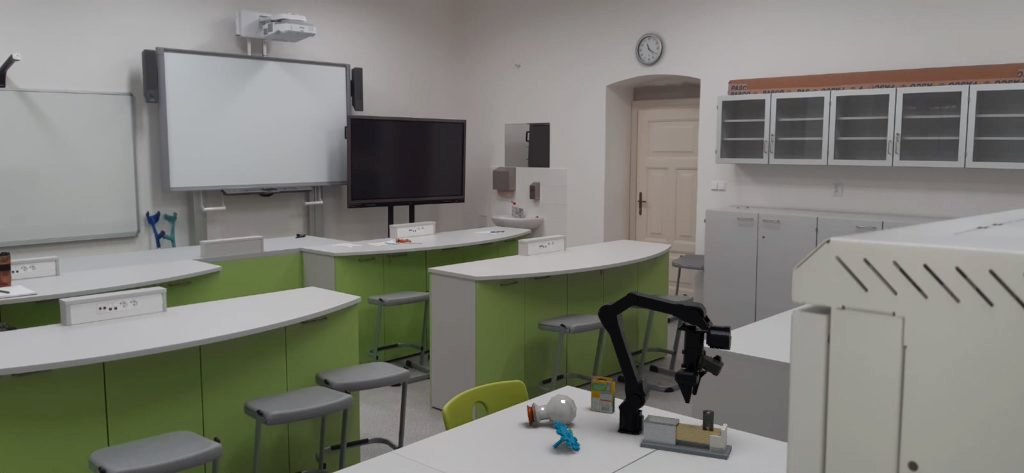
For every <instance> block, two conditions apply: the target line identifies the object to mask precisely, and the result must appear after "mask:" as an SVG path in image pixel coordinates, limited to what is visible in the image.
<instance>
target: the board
mask: <svg viewBox="0 0 1024 473" xmlns="http://www.w3.org/2000/svg"><path fill="white" fill-rule="evenodd" d="M639 444H640V445H639V448H645V449H653V450H660V451H667V452H673V453H681V454H687V455H692V456H693V455H694V456H699V457H700V456H701V457H707V458H714V459H721V460H726V461H727V460H729V457H730V454H731V452H732V449H733V446H732V445H731V444H727V447H726V449H725V452H724V453H717V452H710V444H706V443H699V442H692V441H685V440H679V441H678V442H677V444H676V446H670V445H664V444H657V443H650V442H644V438H643V439H642V441H641V442H640V443H639Z"/></svg>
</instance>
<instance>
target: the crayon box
mask: <svg viewBox="0 0 1024 473" xmlns="http://www.w3.org/2000/svg"><path fill="white" fill-rule="evenodd" d="M600 379H602V380H600ZM613 380H614V378H612V377H607V376H606V377H605V376H600V375H599V376H598V375H597V376H596V375H591V383H590V384H591V387H590V388H591V389H590V411H591V410H593V411H592V412H599V413H605V414H606V413H607V414H611V415H612V414H613V413H614V412H615V411H616V405H615V404H616V382H615V381H613Z"/></svg>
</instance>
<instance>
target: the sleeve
mask: <svg viewBox="0 0 1024 473" xmlns="http://www.w3.org/2000/svg"><path fill="white" fill-rule="evenodd" d="M680 420H681V419H680V418H674V417H666V416H659V415H652V414H647V416H646V417H645V418H644V429H643V439H644V442H650V443H657V444H664V445H670V446H676V444H677V442H678V441H679V440H678V439H676V426H677V424H678V423H680Z"/></svg>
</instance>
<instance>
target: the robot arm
mask: <svg viewBox="0 0 1024 473" xmlns="http://www.w3.org/2000/svg"><path fill="white" fill-rule="evenodd" d="M633 306H634V307H638V308H642V309H643V308H644V309H646V310H649V311H654V312H658V313H661V314H662V313H663V314H667V315H671V316H673V317H675V318H677V319H679V320H680V321H682V323H681V325H679V326H678V327H677V331H680V332H684V333H683V335H684V336H683V349H682V350H681V355H682V363H680V369H679V370H677V371H676V372H675V373H674V381H675V382H676V384H677V386H678V388H679V391H680V393H681V395H682V397H683V400H684V402H685V404H690V403H691V400H692V399H691V398H692V396H697V395H698V391H699V387H700V384H701V380H702V377H704V376H705V375H707V373H710V374H712V375H713V376H715V377H718V376H719V375H720V373H721V371H722V369H723V367H724V365H725V364H724V361H723V360H722V358H723V357H722V356H721V355H719V354H715V355H714V356H713V357H712V356H709V355H707V351H706V349H705V345H707V347H709V349H714V350H715V349H716V350H724V351H731V348H732V347H731V346H732V338H733V337H732V331H731V330H732V329H731V328H732V326H729V325H714V324H713V322H712V320H711V319H710V317H709V316H708V315H707V312H708V311H707V308H706V307H705V305H704V304H703V303H702V302H700V301H699V302H698V301H676V300H672V299H668V298H663V297H658V296H655V295H652V294H648V293H644V292H639V291H637V290H631V291H630V292H628V293H627V294H626V295H624V296H622V297H621V298H620V299H618V300H616V301H608V302H606V303H604V304H602V306H601V307H599V308H598V311H597V317H598V319H599V321H600V323H601V325H602V327H603V328H604V329H605V331H606V332H607V333H608V336H609V337H610V340H611V343H612V346H613V349H614V352H615V355H616V359H617V361H618V362H617V363H618V364H619V366H620V369H621V373H622V376H623V381H624V393H625V394H624V395H625V398H624V399H623V400H622V402H621V403H620V404H619V405H618V407H617V408H618V410H619V417H618V418H619V420H618V421H619V423H618V429H617V432H618V433H624V434H632V435H640V433H641V432H642V431H644V420H645V416H644V415H643V410H642V408H643V407H644V406H645V405H646V403H647V402H648V401H649V398H650V392H651V388H650V387H649V385H648V378H647V377H645V378H642V377H641V376H640V375H639V373H638V370H637V367H636V364H635V361H634V359H633V355H632V352H631V349H630V346H629V342H628V339H627V336H626V334H625V331H624V318H623V313H624V312H625V311H627V310H629V309H630V308H631V307H633Z"/></svg>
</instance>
